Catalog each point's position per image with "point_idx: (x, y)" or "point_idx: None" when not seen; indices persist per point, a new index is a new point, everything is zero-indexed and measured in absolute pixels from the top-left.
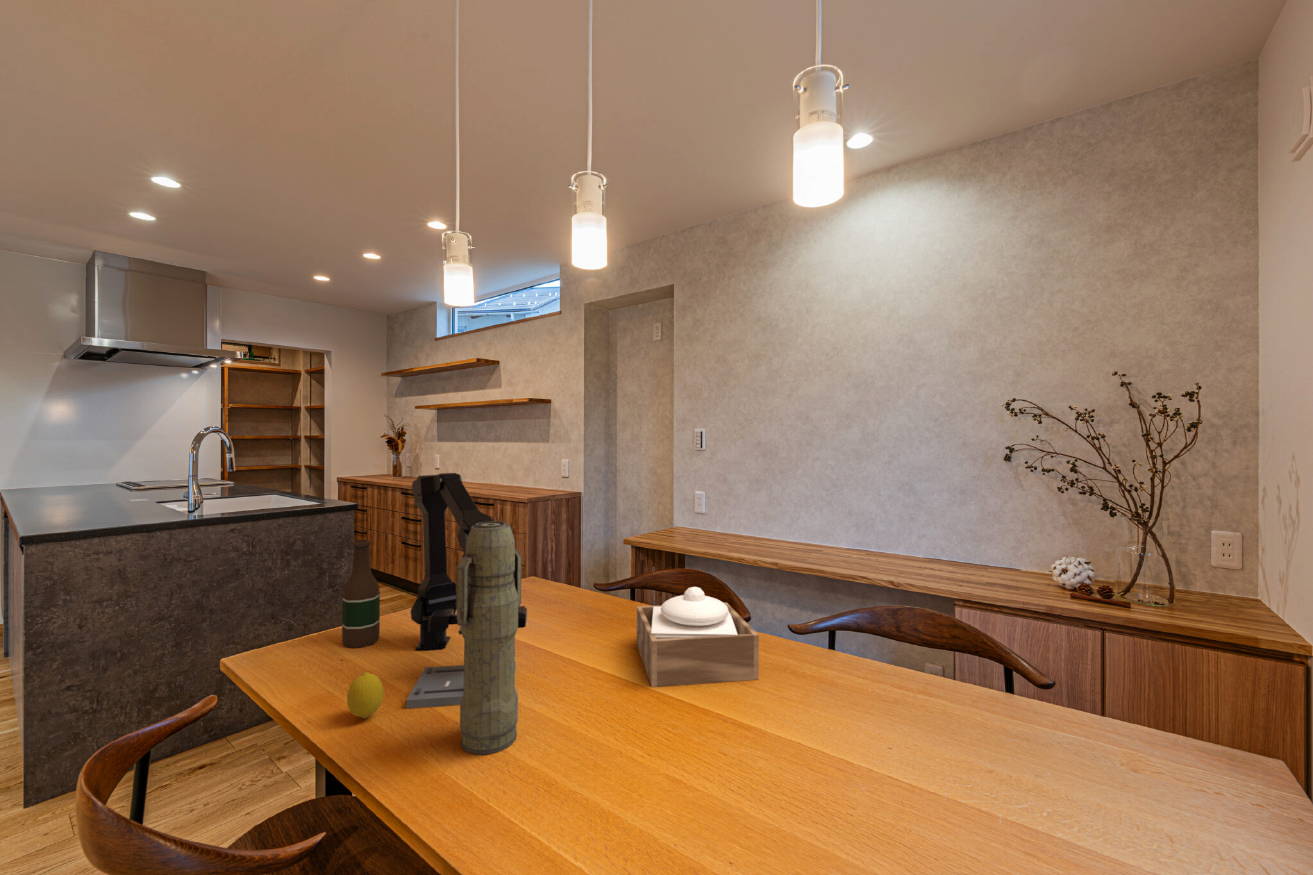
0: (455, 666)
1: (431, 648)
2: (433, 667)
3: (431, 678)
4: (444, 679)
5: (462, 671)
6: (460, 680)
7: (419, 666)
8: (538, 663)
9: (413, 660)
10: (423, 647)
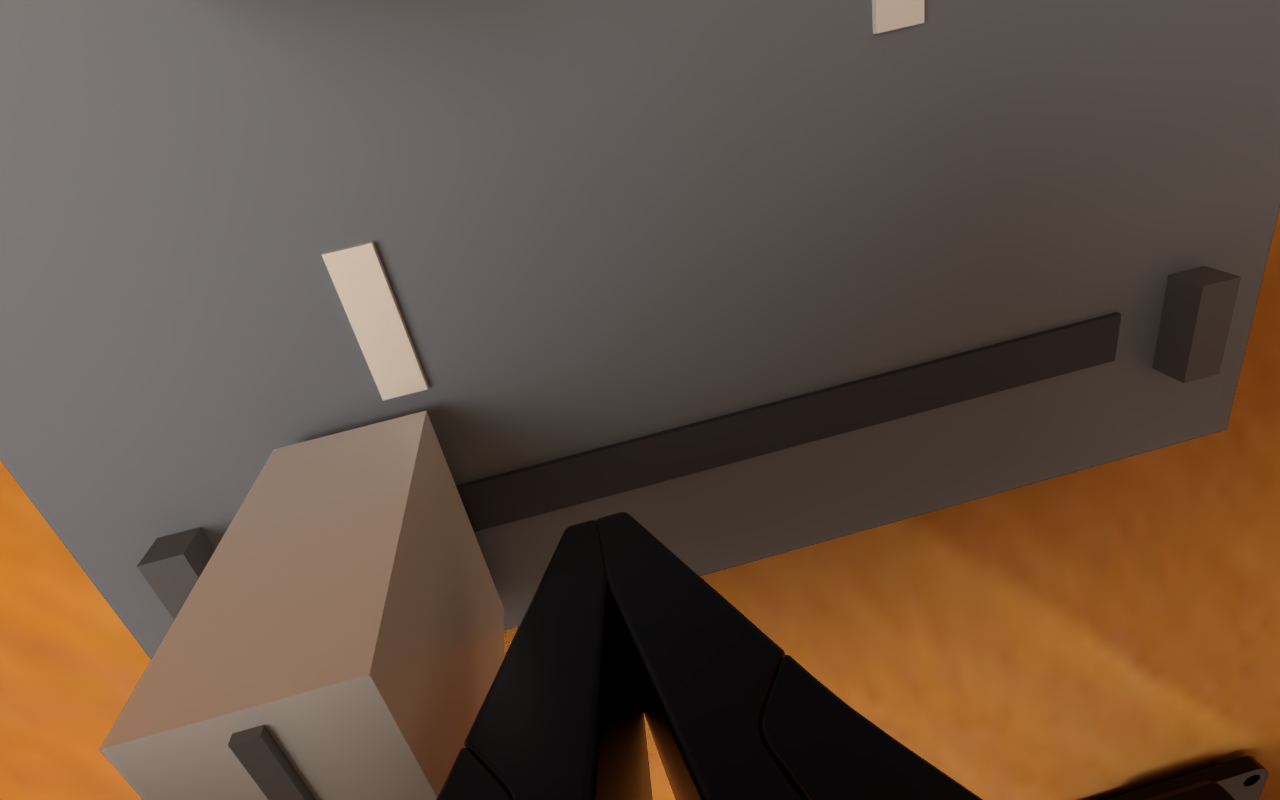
0: (903, 497)
1: (1147, 792)
2: (1140, 439)
3: (1143, 134)
4: (968, 110)
5: (783, 385)
6: (724, 84)
7: (1210, 538)
8: (35, 792)
9: (1258, 621)
10: (1217, 783)
